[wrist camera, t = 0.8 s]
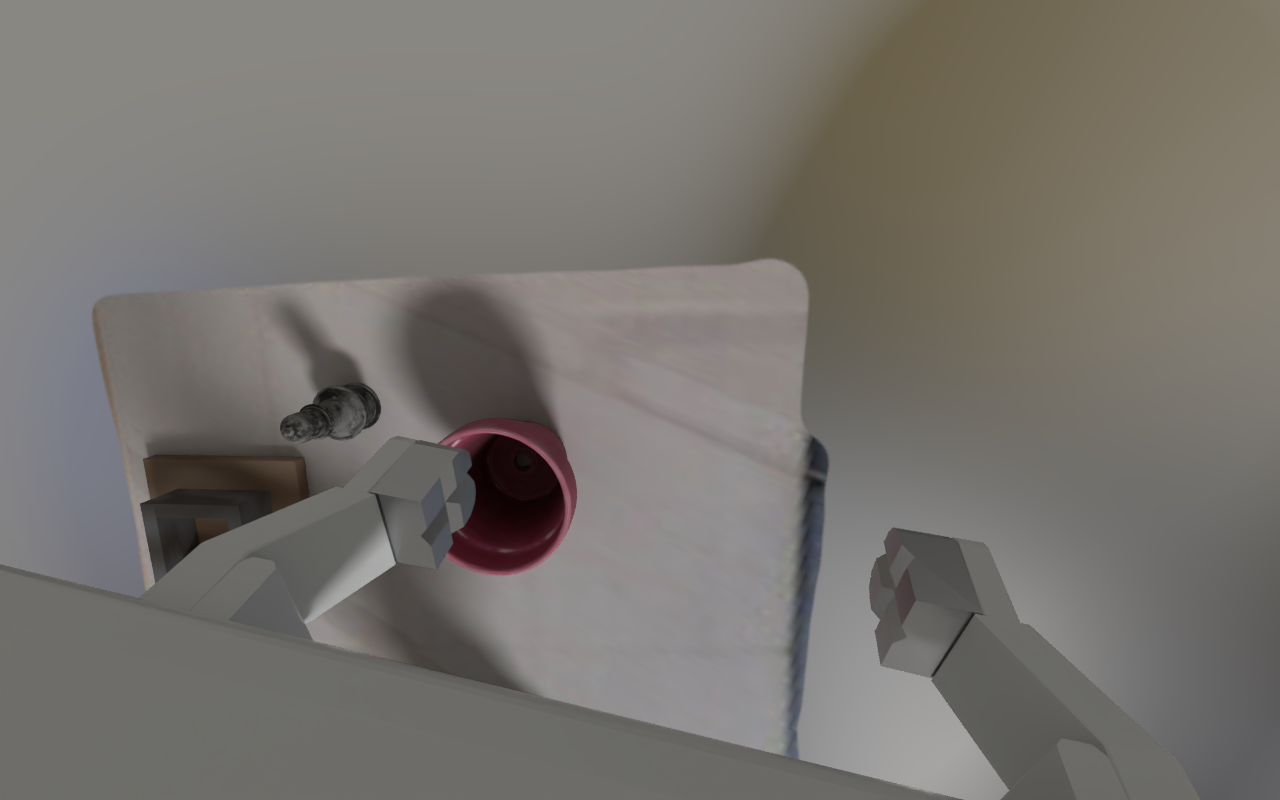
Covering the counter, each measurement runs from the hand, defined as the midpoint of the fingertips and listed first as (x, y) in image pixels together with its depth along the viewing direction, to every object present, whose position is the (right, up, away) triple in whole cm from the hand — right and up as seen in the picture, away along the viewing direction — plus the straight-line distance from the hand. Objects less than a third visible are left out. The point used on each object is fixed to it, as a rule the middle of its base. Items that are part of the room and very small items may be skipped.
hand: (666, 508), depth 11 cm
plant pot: (-13, -5, +51) cm, 53 cm away
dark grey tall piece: (-32, +1, +51) cm, 60 cm away
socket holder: (-48, -13, +55) cm, 74 cm away
